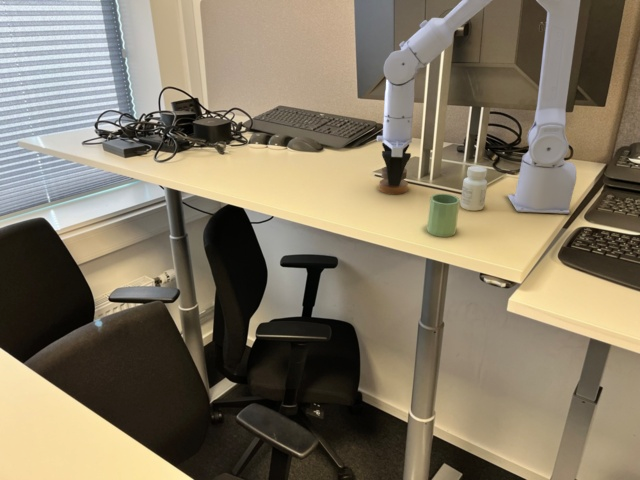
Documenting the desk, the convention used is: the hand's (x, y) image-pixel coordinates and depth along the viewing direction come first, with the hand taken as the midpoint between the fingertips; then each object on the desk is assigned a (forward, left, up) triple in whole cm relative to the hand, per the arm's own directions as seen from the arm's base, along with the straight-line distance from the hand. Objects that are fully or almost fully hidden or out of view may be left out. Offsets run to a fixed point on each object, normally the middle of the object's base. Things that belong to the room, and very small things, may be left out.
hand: (393, 180), depth 99 cm
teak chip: (0, 0, -2) cm, 2 cm away
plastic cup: (-8, +19, -2) cm, 21 cm away
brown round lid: (0, 0, +1) cm, 1 cm away
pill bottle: (-15, +8, -2) cm, 17 cm away
